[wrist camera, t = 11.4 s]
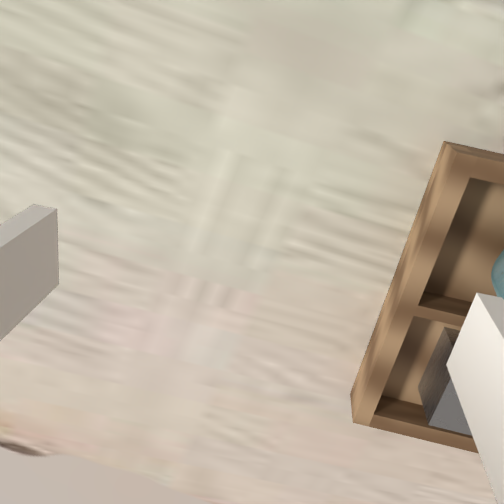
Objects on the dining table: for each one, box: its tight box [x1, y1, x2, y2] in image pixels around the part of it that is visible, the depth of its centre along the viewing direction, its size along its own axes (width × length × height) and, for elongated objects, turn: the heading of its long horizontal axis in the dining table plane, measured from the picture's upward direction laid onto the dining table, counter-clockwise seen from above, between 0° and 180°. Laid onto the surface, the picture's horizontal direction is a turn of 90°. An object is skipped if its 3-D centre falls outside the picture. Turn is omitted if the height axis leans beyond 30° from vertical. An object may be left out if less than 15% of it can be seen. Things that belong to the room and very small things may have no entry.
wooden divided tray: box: [350, 141, 504, 453], centre depth 41 cm, size 26×18×4 cm
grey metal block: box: [418, 327, 472, 436], centre depth 42 cm, size 7×7×5 cm
